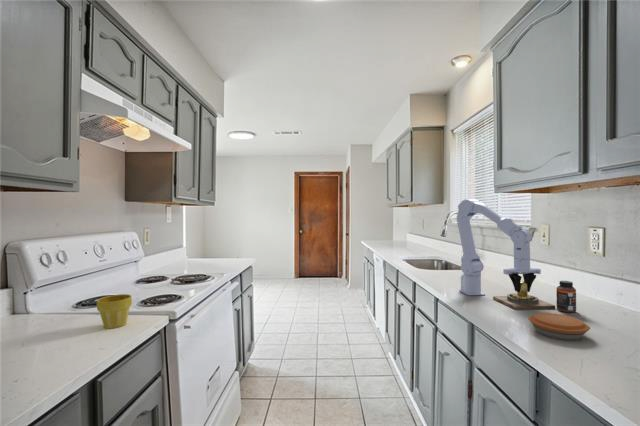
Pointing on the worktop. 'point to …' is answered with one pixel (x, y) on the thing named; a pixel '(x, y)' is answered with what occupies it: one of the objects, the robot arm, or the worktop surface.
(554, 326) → the pie
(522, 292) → the planet gear
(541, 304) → the collar board
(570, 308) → the supplement bottle
